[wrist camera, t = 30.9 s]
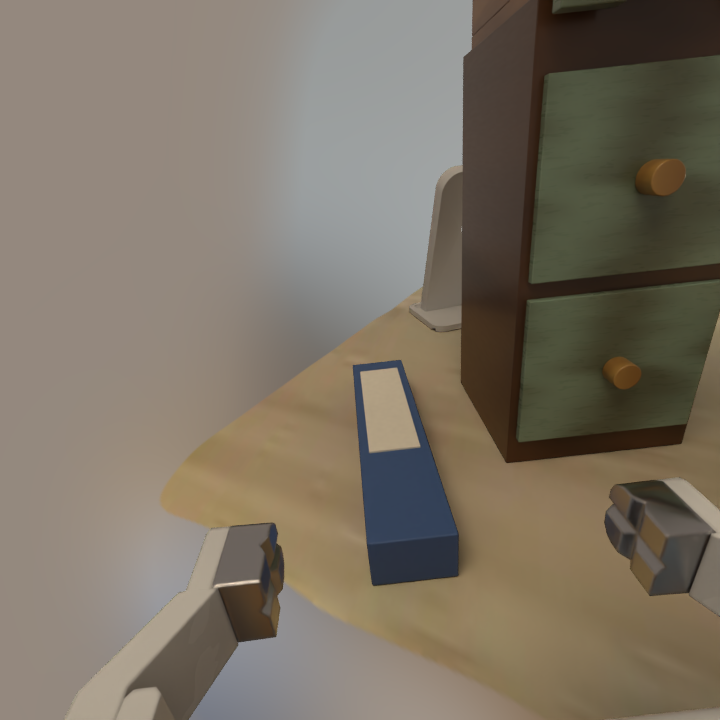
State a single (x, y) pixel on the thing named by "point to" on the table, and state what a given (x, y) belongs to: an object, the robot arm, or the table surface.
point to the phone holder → (444, 258)
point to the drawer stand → (589, 220)
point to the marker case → (400, 482)
